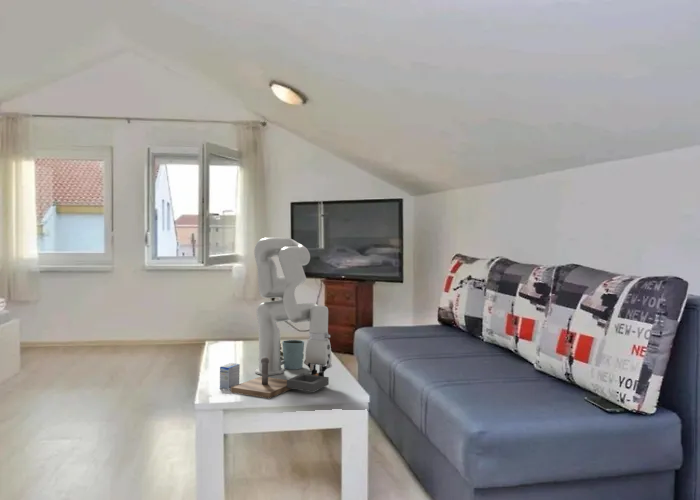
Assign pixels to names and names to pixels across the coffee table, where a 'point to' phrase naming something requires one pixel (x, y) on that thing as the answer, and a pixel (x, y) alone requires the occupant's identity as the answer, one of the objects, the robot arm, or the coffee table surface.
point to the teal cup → (293, 354)
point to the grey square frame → (308, 382)
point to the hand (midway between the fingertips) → (317, 380)
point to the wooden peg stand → (262, 384)
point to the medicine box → (229, 375)
